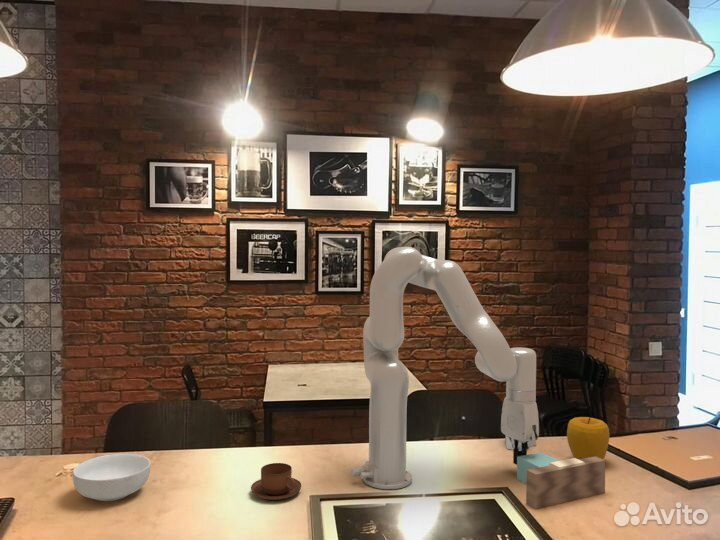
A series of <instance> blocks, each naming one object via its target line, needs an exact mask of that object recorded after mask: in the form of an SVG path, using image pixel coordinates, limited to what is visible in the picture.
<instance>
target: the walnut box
mask: <svg viewBox="0 0 720 540" xmlns="http://www.w3.org/2000/svg"><path fill="white" fill-rule="evenodd" d="M525 493H526V494H525V504H526V505H527V506H529V507H531V508H533V509H535V510H537V509H538V510H539V509H541V508H542V509H543V508H546V507H551V506H555V505H558V504H563V503H568V502H571V501H576V500H579V499H580V500H581V499H584V498H588V497H593V496H596V495H601V494H604V493H606V459H601V458H598V457H596V456H595V457H590V458H585V459H579V460H578V459H576V458H574V457H573V458H568V459H562V460H560V461H556V462H551V463H550V464H549V466H544V467H539V468H534V469H529V470H527V480H526V489H525Z"/></svg>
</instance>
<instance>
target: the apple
mask: <svg viewBox="0 0 720 540" xmlns="http://www.w3.org/2000/svg"><path fill="white" fill-rule="evenodd" d="M610 435H611V434H610V429H609V425H608V424H607V423H605V422H604V421H603V420H601V419H598V418H594V417H589V416H579V417H578V416H577V417H576V416H575V417H574V418H572V419H569V421H568V423H567V430H566V439H567V443H568V447H569V450H570V452H571V454H572V456H573V458H576V459H578V460H579V459H585V458H590V457H595V456H596V457H598V458H601V459H603V460H605V457H606V455H607V451H608V447H609V443H610Z"/></svg>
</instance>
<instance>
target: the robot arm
mask: <svg viewBox="0 0 720 540" xmlns="http://www.w3.org/2000/svg"><path fill="white" fill-rule="evenodd" d="M408 284H412V285H415V286H418V287H421V288H424V289H429V290H432V291H435V292H436V293H437V296H438V298H439V299H440V300H441V303H442V304H443V306H444V308H445V310H446V312H447V313H448V315H449V318H450V319H451V321H452V323H453V324H454V325H455V327H456V328H457V329H458V331H460V332H461V334H463V335H464V336H466V337H465V338H467V339H468V340H469V341H470V342H471V343H472V344H473V346H474V347H475V348H476V350H477V352H476V354H475V356H474V363H475V366H476V368H477V370H479V371H480V372H481V373H483V374H484V375H486V376H488V377H490V378H491V379H493V380H495V381H497V382H502V383H503V382H506V383H505V384H506V385H505V397H504V400H503V402H502V408H501V418H500V431H501V433H502V434H503V435H505V438H506V437H508V438H509V439H510V441H511V444H512V448H514V449H512V454H513V455H512V458H513V460H512V463H513V464H514V465H516V466H517V457H518V456H523V455H528V450H529V448H536V447H537V440H539V435H540V434H539V433H540V420H539V410H538V405H537V402H536V401H537V398H536V396H537V393H536V392H537V386H536V385H537V353H536V351H535V350H534V349H532V348H528V347H520V346H519V347H510V345H509V343H508V341H507V340H506V338H505V336H504V335H503V333H502V331H501V330H500V329H499V328H498V326H497V325H496V324H495V322H494V321H493V320H492V318H491V316H490V315H489V314H488V313H487V311H486V310H485V309H484V307H483V305H482V304H481V302H480V300H479V298H478V297H477V295H476V293H475V292H474V289H473V288H472V285H471V283H470V281H469V280H468V278H467V277H466V274H465V273H464V271H463V269H462V267H461V266H460V265H459V264H458V263H457V262H455V261H452V260H449V259H447V260H446V259H438V258H434V257H430V256H427V255H424V254H421V252H420V251H419V250H418V249H416V248H415V247H412V246H399V247H394V248H392V249H391V250H390V249H389V251H388V252H387V253H386V255H385V256H384V259H383V261H382V262H381V263H380V264H379V266H378V267H377V268H376V271H375V272H374V274H373V276H372V279H371V282H370V287H369V316H368V317H367V318H366V320H365V322H364V324H363V330H362V332H363V333H362V334H363V340H362V341H363V364H364V365H363V366H364V374H365V376H366V378H367V380H368V381H369V383H370V396H369V405H368V407H369V408H368V409H369V411H368V412H369V413H368V416H369V417H368V425H369V426H368V428H369V429H368V437H369V438H368V461H367V460H365V464H364V465H362V467H354V468H351V470H350V473H351V476H352V477H358V476H360V479H362V481H363V482H364V484H366V485H367V486H369V487H372V488H376V489H379V490H397V489H401V488H406V487H407V486H410V484H412V481H413V475H412V474H411V472H410V471H408V470H407V414H408V413H407V411H408V410H407V406H408V404H407V403H408V394H409V389H410V388H409V386H410V385H409V384H410V378H409V373H408V370H407V367H406V366H405V365H404V363H403V362H402V361H401V360H400V359H399V348H400V347H401V346H402V345H403V343H404V339H405V326H404V325H405V324H404V293H405V289H406V287H407V285H408Z"/></svg>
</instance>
